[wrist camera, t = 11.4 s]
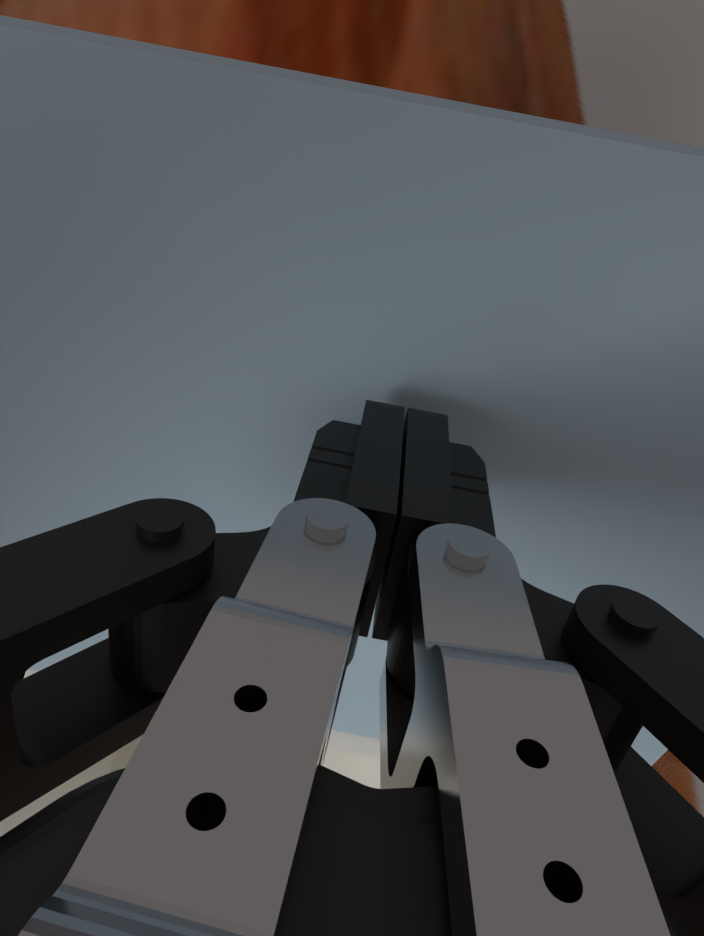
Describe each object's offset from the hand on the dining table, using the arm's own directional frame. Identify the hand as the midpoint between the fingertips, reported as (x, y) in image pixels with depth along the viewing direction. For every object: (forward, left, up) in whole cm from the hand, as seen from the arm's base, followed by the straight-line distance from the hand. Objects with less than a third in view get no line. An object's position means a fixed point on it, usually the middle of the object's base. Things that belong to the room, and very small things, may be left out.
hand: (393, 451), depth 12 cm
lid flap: (+1, -1, -3) cm, 4 cm away
